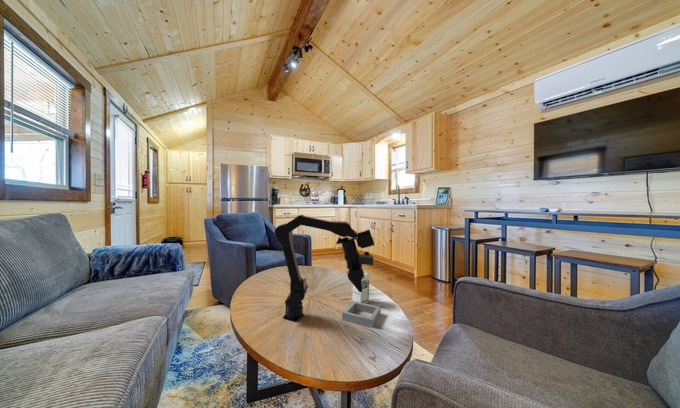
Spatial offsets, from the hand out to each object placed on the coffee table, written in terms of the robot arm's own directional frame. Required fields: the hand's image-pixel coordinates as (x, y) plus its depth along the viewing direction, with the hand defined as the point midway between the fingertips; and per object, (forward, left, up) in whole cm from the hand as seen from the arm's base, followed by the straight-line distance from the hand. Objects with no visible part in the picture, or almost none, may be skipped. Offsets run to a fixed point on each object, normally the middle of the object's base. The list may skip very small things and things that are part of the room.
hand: (360, 287), depth 102 cm
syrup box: (-5, +18, -14) cm, 23 cm away
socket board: (0, +4, -14) cm, 14 cm away
